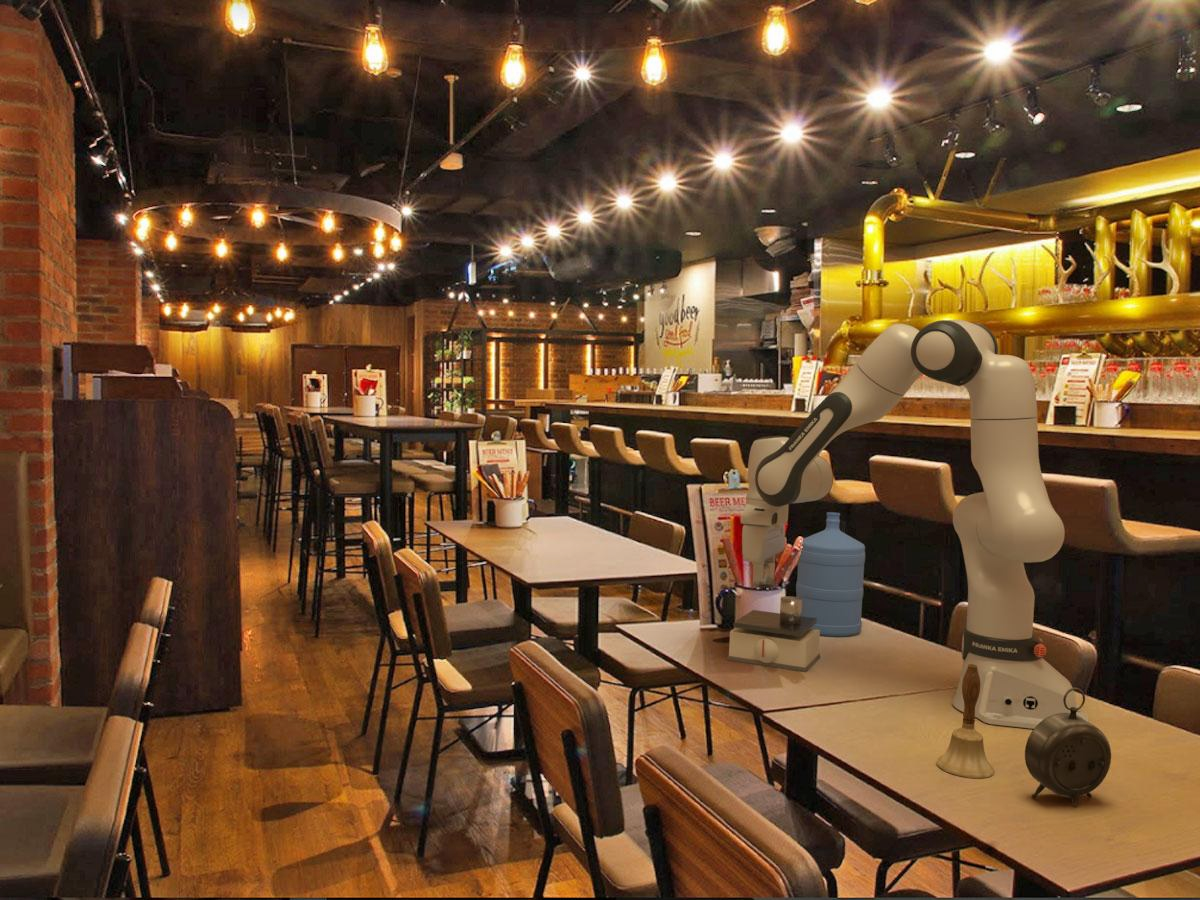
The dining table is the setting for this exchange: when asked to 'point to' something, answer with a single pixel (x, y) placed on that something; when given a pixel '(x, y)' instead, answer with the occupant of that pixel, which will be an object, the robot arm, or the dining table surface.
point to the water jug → (832, 580)
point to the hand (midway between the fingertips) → (763, 577)
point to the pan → (773, 623)
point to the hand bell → (967, 736)
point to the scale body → (774, 648)
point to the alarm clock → (1067, 754)
